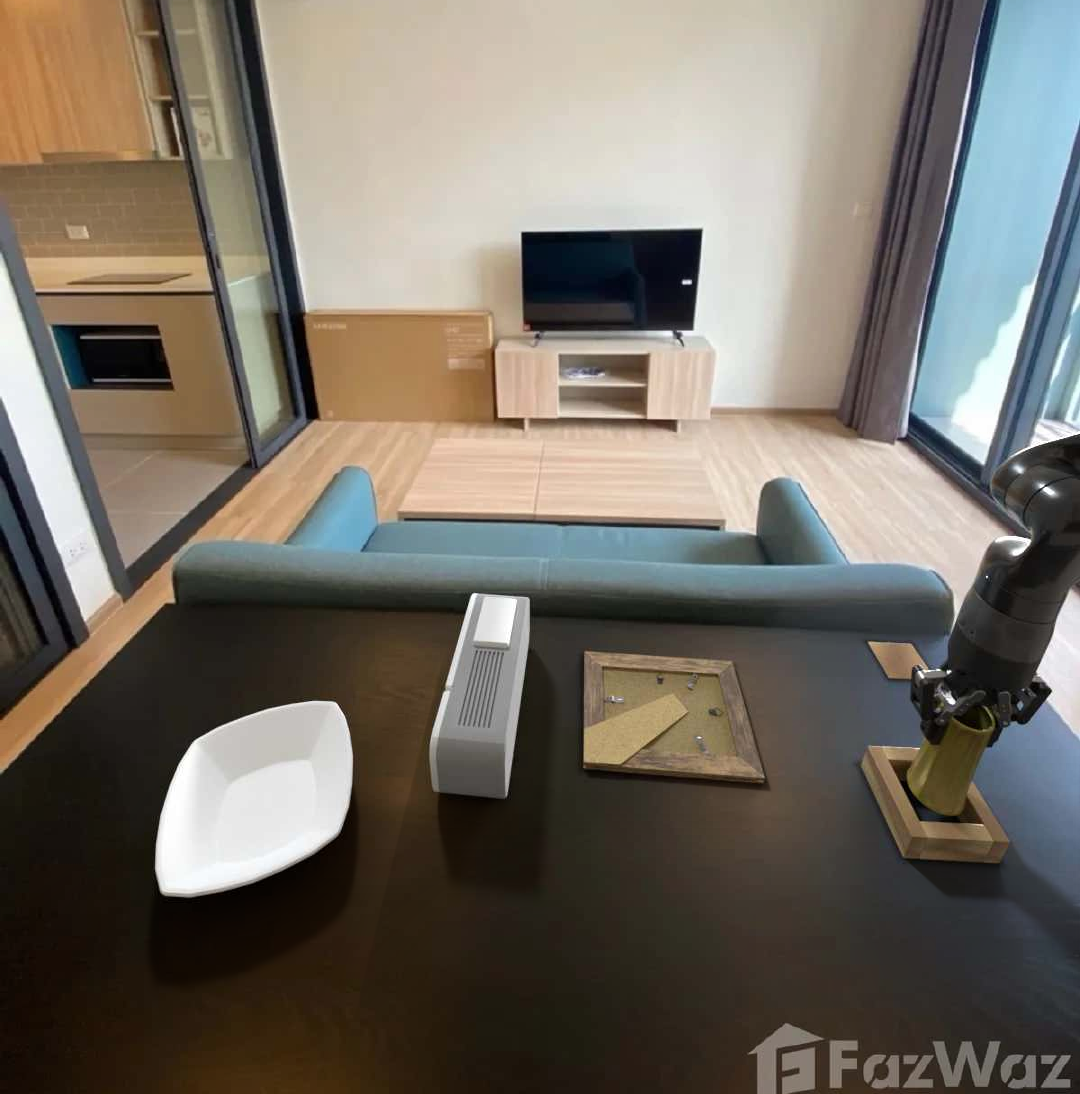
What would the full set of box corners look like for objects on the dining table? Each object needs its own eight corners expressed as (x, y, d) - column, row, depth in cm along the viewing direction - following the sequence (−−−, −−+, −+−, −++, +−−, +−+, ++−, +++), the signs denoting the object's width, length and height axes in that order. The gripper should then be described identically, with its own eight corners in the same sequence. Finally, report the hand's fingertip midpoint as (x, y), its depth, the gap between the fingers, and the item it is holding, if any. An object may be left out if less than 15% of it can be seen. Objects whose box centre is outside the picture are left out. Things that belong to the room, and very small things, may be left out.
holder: (943, 771, 78) (952, 749, 76) (998, 865, 68) (1010, 841, 66) (859, 767, 79) (867, 745, 77) (902, 859, 68) (912, 836, 67)
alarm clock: (475, 637, 99) (472, 582, 94) (529, 642, 98) (529, 587, 93) (433, 805, 74) (427, 742, 69) (505, 813, 73) (504, 750, 68)
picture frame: (583, 770, 78) (763, 785, 76) (583, 761, 77) (765, 776, 76) (584, 657, 95) (731, 667, 93) (584, 649, 94) (732, 659, 93)
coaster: (910, 646, 98) (911, 643, 97) (935, 682, 91) (936, 679, 91) (866, 644, 98) (867, 641, 98) (888, 680, 91) (889, 677, 91)
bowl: (188, 757, 79) (179, 731, 77) (353, 711, 86) (349, 686, 84) (147, 949, 60) (134, 921, 58) (362, 871, 67) (357, 843, 65)
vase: (944, 766, 75) (976, 687, 69) (976, 817, 69) (1014, 736, 63) (896, 765, 75) (924, 686, 69) (924, 816, 69) (957, 735, 63)
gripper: (951, 657, 58) (910, 767, 65) (1100, 663, 58) (1043, 774, 64) (911, 602, 65) (877, 707, 72) (1044, 607, 64) (997, 712, 71)
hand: (956, 738), depth 68 cm, fingers closed on vase, 5 cm apart
